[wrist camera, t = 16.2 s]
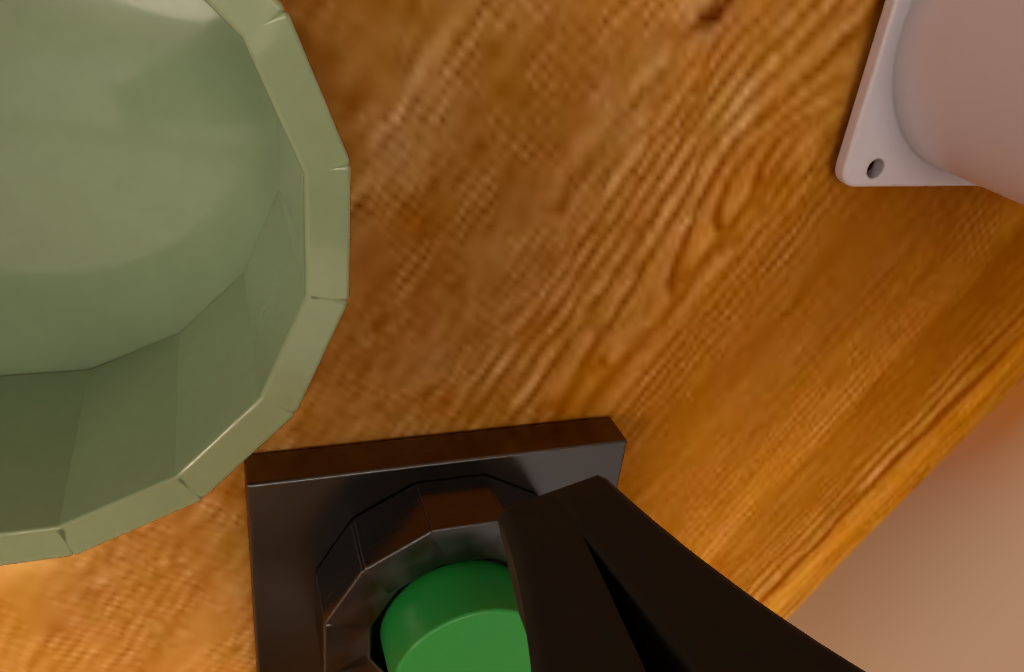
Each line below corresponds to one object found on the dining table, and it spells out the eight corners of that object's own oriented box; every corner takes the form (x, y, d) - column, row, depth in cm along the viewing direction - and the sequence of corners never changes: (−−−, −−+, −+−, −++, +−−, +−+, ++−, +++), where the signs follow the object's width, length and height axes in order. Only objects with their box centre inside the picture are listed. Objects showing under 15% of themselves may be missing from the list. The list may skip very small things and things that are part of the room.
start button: (535, 547, 21) (559, 598, 20) (518, 653, 23) (539, 706, 22) (381, 572, 20) (395, 627, 19) (377, 681, 22) (390, 740, 21)
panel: (610, 415, 24) (658, 481, 21) (571, 614, 27) (607, 689, 25) (243, 454, 20) (250, 537, 18) (256, 673, 24) (263, 767, 22)
